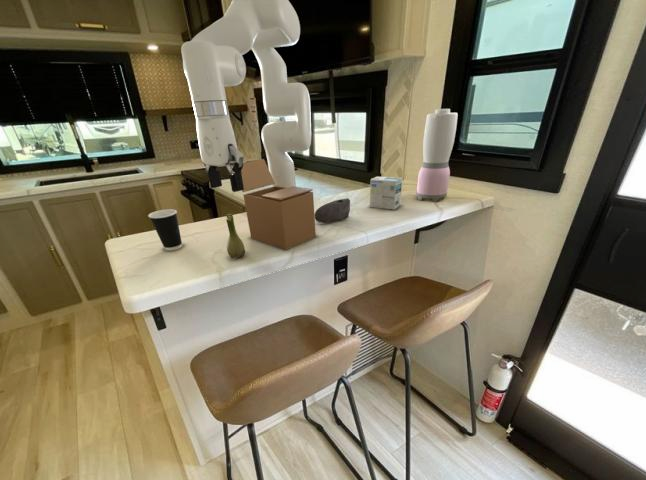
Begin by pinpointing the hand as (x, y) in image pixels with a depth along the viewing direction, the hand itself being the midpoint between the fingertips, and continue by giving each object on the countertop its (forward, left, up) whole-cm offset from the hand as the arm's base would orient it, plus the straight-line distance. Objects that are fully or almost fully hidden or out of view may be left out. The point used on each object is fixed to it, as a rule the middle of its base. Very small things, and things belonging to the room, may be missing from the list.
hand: (227, 188), depth 80 cm
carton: (0, +17, -19) cm, 25 cm away
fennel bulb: (0, -1, -19) cm, 19 cm away
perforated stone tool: (+3, +39, -19) cm, 43 cm away
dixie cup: (-23, -9, -19) cm, 31 cm away
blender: (+18, +87, -19) cm, 91 cm away
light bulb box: (+9, +64, -19) cm, 67 cm away
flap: (-11, +17, 0) cm, 20 cm away
